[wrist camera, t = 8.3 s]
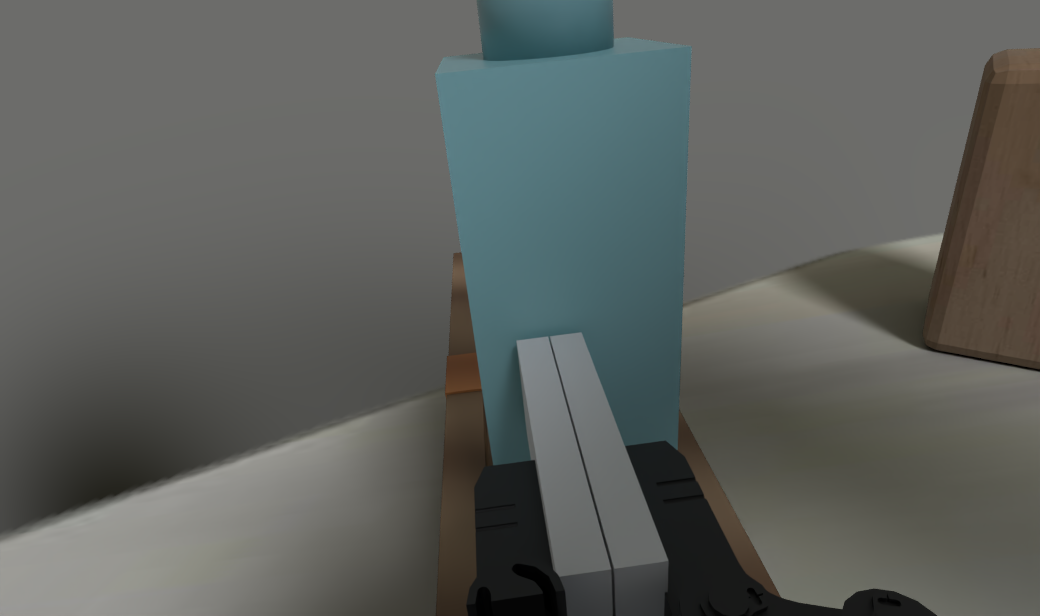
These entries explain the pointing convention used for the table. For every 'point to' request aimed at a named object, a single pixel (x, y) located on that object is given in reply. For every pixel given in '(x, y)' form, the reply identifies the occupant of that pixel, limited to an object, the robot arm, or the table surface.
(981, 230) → the wooden block
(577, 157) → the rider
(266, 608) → the table surface
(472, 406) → the beam
